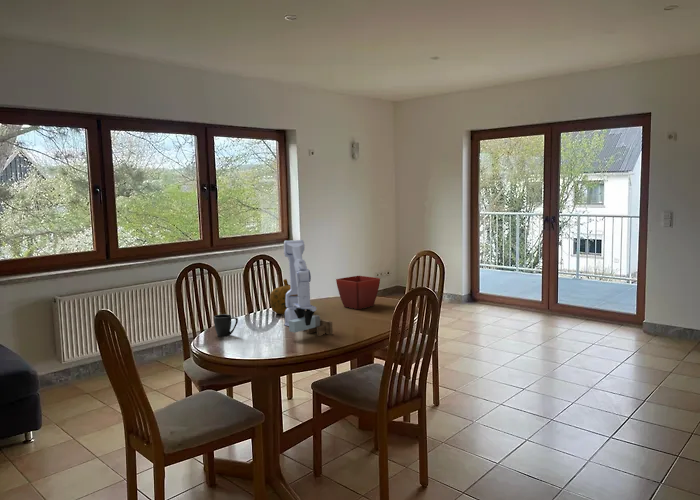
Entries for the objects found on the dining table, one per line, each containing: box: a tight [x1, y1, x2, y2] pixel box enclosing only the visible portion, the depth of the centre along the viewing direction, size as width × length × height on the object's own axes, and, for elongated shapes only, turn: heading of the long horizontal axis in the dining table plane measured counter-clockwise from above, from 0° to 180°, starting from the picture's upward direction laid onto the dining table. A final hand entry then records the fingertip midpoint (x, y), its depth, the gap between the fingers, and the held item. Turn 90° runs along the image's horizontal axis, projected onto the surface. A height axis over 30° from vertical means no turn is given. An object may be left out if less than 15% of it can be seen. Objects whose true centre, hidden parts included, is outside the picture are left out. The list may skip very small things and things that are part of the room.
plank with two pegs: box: [306, 318, 334, 337], centre depth 261 cm, size 14×6×6 cm, turn 47°
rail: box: [288, 314, 321, 334], centre depth 255 cm, size 16×4×5 cm, turn 137°
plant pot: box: [335, 275, 381, 310], centre depth 319 cm, size 19×19×17 cm
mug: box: [213, 313, 239, 338], centre depth 261 cm, size 8×12×10 cm
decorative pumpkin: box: [269, 278, 296, 316], centre depth 307 cm, size 20×21×20 cm
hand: (304, 324), depth 255 cm, fingers closed on rail, 4 cm apart
